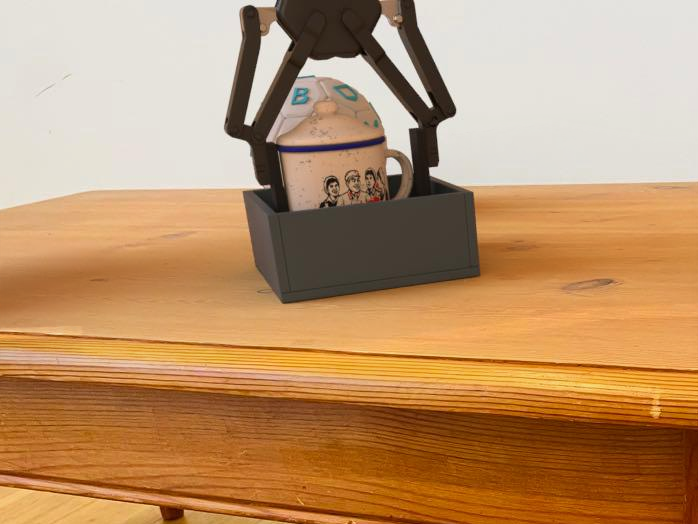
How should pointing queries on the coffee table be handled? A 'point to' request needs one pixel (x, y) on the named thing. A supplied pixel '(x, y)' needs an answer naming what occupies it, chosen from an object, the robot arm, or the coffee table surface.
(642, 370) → the coffee table surface
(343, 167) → the teacup with lid
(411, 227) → the bin
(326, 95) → the puzzle ball
